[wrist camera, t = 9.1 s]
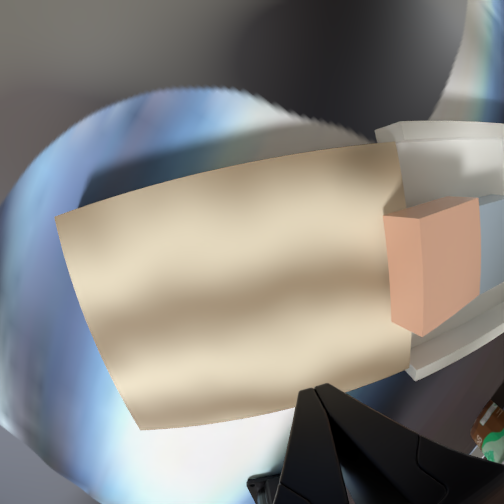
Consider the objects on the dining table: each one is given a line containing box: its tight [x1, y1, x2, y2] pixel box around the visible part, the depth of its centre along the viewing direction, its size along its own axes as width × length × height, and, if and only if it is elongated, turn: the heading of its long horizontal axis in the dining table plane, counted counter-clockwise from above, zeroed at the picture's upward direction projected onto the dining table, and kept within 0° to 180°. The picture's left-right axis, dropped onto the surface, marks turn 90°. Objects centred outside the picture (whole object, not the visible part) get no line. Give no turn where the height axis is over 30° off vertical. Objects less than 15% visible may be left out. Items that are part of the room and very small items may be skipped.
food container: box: [471, 399, 504, 464], centre depth 19 cm, size 12×6×10 cm, turn 49°
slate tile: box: [478, 194, 504, 295], centre depth 16 cm, size 6×6×2 cm
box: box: [375, 121, 504, 381], centre depth 16 cm, size 16×14×3 cm
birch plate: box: [55, 141, 411, 430], centre depth 16 cm, size 14×18×2 cm
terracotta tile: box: [383, 196, 481, 337], centre depth 14 cm, size 6×6×2 cm
